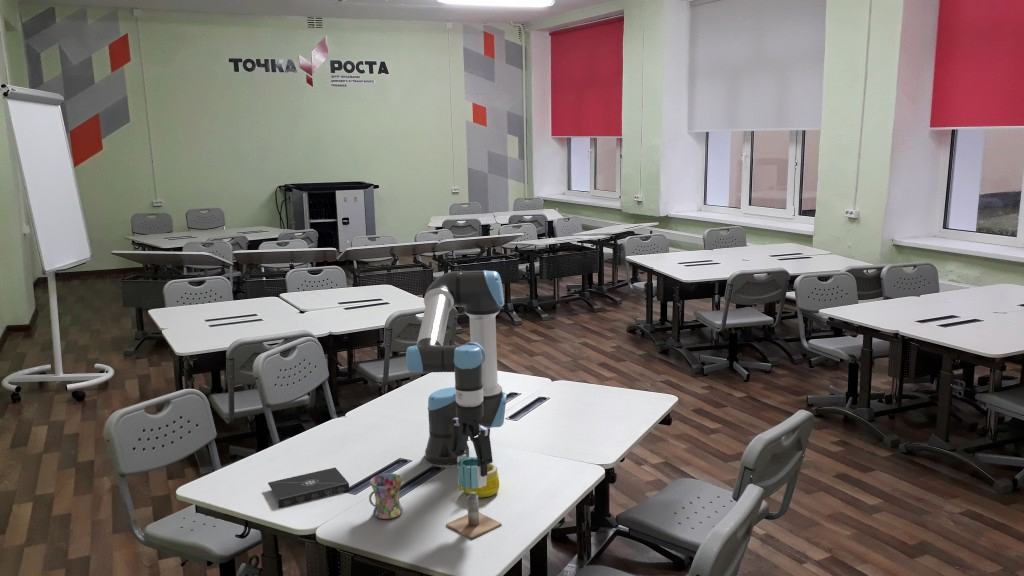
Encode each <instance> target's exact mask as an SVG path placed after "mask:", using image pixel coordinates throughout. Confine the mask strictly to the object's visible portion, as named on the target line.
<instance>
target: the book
mask: <svg viewBox="0 0 1024 576" xmlns="http://www.w3.org/2000/svg"><path fill="white" fill-rule="evenodd" d="M267 484H268V485H269V488H270V490H271V491H272V493H273V494H275V495H274V496H275V497H276V499H278V500H277V501H278V503H277V504H278V509H280V508H281V509H282V508H286V507H290V506H293V505H297V504H301V503H306V502H310V501H314V500H318V499H322V498H326V497H330V496H334V495H339V494H344V493H347V492H350V483H349V482H348V480H347V479H346V478H345V477H344V476H343V474H342V473H341V472H340V471H339V469H338V468H336V467H330V468H327V469H322V470H318V471H312V472H309V473H305V474H304V473H303V474H300V475H295V476H292V477H291V476H290V477H287V478H282V479H277V480H273V481H269V482H268V483H267Z"/></svg>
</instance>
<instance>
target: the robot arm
mask: <svg viewBox="0 0 1024 576" xmlns="http://www.w3.org/2000/svg"><path fill="white" fill-rule="evenodd" d="M504 297H505V296H504V289H503V283H502V278H501V275H500V274H499V272H497V271H495V270H485V269H484V270H483V269H482V270H461V271H460V270H459V271H458V270H455V271H449V272H445V273H444V274H442V275H440V276H439V277H437V278H436V279H435V280H434V281H432V283H431V284H430V285H429V286H428V287H427V289H426V291H425V293H424V297H423V303H424V304H423V305H424V307H425V308H424V312H423V316H422V320H421V324H420V329H419V333H418V337H417V342H416V345H410V346H408V347H407V348H406V352H405V366H406V370H407V371H408V372H409V373H420V374H423V373H424V374H425V373H427V374H428V373H454V386H453V387H452V386H451V387H446V388H442V389H441V388H440V389H438V390H436V391H433V392H432V393H431V394H430V395H429V396H428V398H427V399H428V400H427V401H428V402H427V410H428V430H429V431H428V434H429V436H428V440H427V444H426V447H425V451H424V458H425V460H426V461H427V462H429V463H431V464H436V465H454V464H456V466H457V467H458V461H459V460H461V459H464V458H468V457H470V448H469V445H468V441H469V440H470V441H471V442H472V444H473V448H474V451H475V455H476V456H475V457H477V459H478V463H479V464H477V488H481V487H484V486H486V485H487V480H486V475H487V464H490V463H491V464H493V463H494V461H493V459H494V458H493V453H492V452H493V451H492V443H491V438H490V436H491V435H490V434H491V428H500V427H502V426H503V425H504V423H505V413H506V404H507V392H504V391H503V387H502V385H500V384H499V383H498V357H497V356H498V354H497V351H498V348H497V325H496V324H497V321H496V316H497V315H498V314H499V313H500V311H501V309H500V308H502V307H503V306H504V305H505V298H504ZM456 307H458V308H461V307H462V308H463V307H464V313H465V314H466V315H467V316H468V317H469V335H470V336H469V338H470V341H469V342H466V343H464V344H463V345H462V344H461V345H460V344H459V345H444V342H445V336H446V330H447V324H448V321H449V316H450V315H449V313H450V311H451V310H453V308H456ZM482 459H483V460H482Z"/></svg>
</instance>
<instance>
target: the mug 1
mask: <svg viewBox="0 0 1024 576" xmlns="http://www.w3.org/2000/svg"><path fill="white" fill-rule="evenodd" d="M402 482H403V477H402V476H401V475H400V474H398V473H393V472H391V473H387V472H385V473H380V474H377V475H375V476H373V477H372V478H371V479H369V484H370V486H371V488H372V491H371V492H370V494H369V496H368V501H369V503H370V505H371V506H373V507H374V509H373V512H372V514H373V515H374V517H376V518H379V519H384V520H389V519H393V518H396V517H398V516H400V515H401V514H402V513H403V511H404V510H403V506H402V505H401V502H400V488H401V484H402ZM373 494H374V499H375V502H374V503H375V504H374V503H373V501H372V497H373Z"/></svg>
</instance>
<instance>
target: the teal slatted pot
mask: <svg viewBox="0 0 1024 576" xmlns="http://www.w3.org/2000/svg"><path fill="white" fill-rule="evenodd" d="M482 460H483V459H482ZM477 464H479V463H478V459H477V456H471V457H470V456H469V457H468V458H464V459H461V460H459V461H458V466H457V480H458V481H457V485H458V484H459V486H460V487H462V488H467V489H475V488H477Z"/></svg>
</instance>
